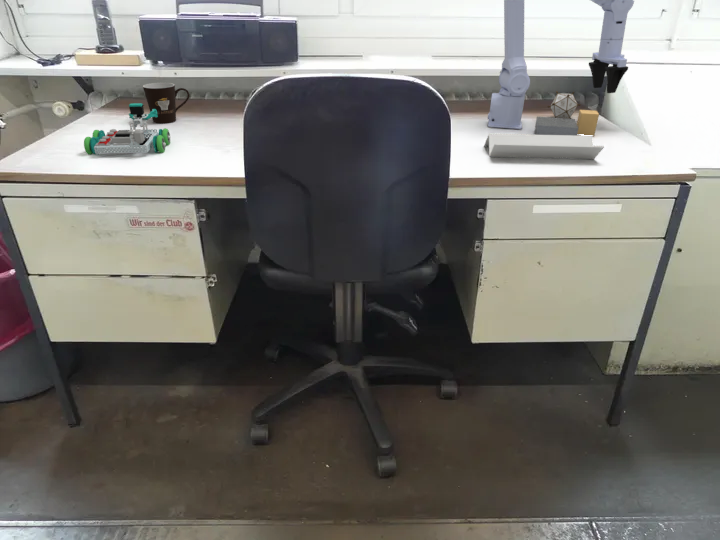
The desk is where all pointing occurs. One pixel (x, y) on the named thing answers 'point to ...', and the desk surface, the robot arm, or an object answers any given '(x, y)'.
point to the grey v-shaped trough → (542, 146)
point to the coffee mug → (163, 101)
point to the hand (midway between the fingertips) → (604, 90)
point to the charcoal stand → (555, 126)
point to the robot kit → (129, 136)
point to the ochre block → (587, 122)
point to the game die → (563, 105)
